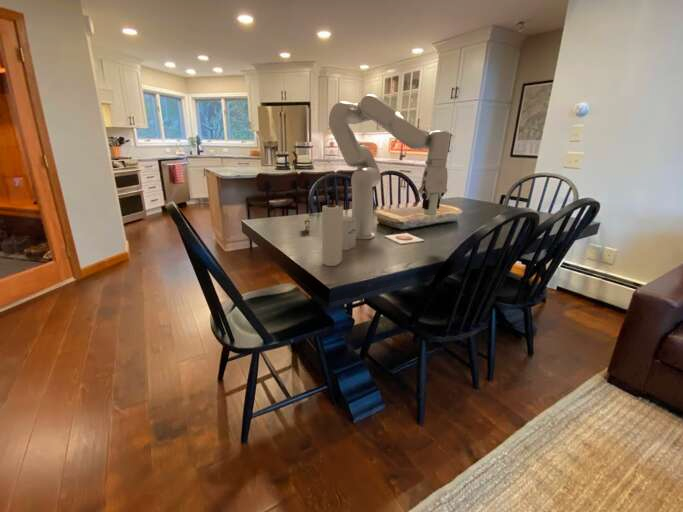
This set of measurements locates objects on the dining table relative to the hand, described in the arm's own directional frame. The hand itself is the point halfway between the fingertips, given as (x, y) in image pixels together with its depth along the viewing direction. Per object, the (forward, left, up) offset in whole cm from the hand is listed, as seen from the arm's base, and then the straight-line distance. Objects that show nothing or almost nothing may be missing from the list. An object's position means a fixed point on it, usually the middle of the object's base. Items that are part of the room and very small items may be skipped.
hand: (430, 208), depth 138 cm
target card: (-3, +13, -17) cm, 21 cm away
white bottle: (-34, +13, -17) cm, 40 cm away
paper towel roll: (-47, -3, -17) cm, 50 cm away
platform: (-39, +42, -17) cm, 60 cm away
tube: (0, 0, -3) cm, 3 cm away
